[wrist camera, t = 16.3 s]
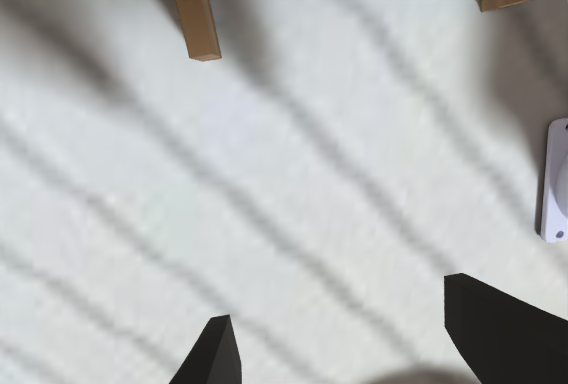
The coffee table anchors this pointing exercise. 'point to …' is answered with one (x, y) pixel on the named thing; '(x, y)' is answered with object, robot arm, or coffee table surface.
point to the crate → (204, 37)
